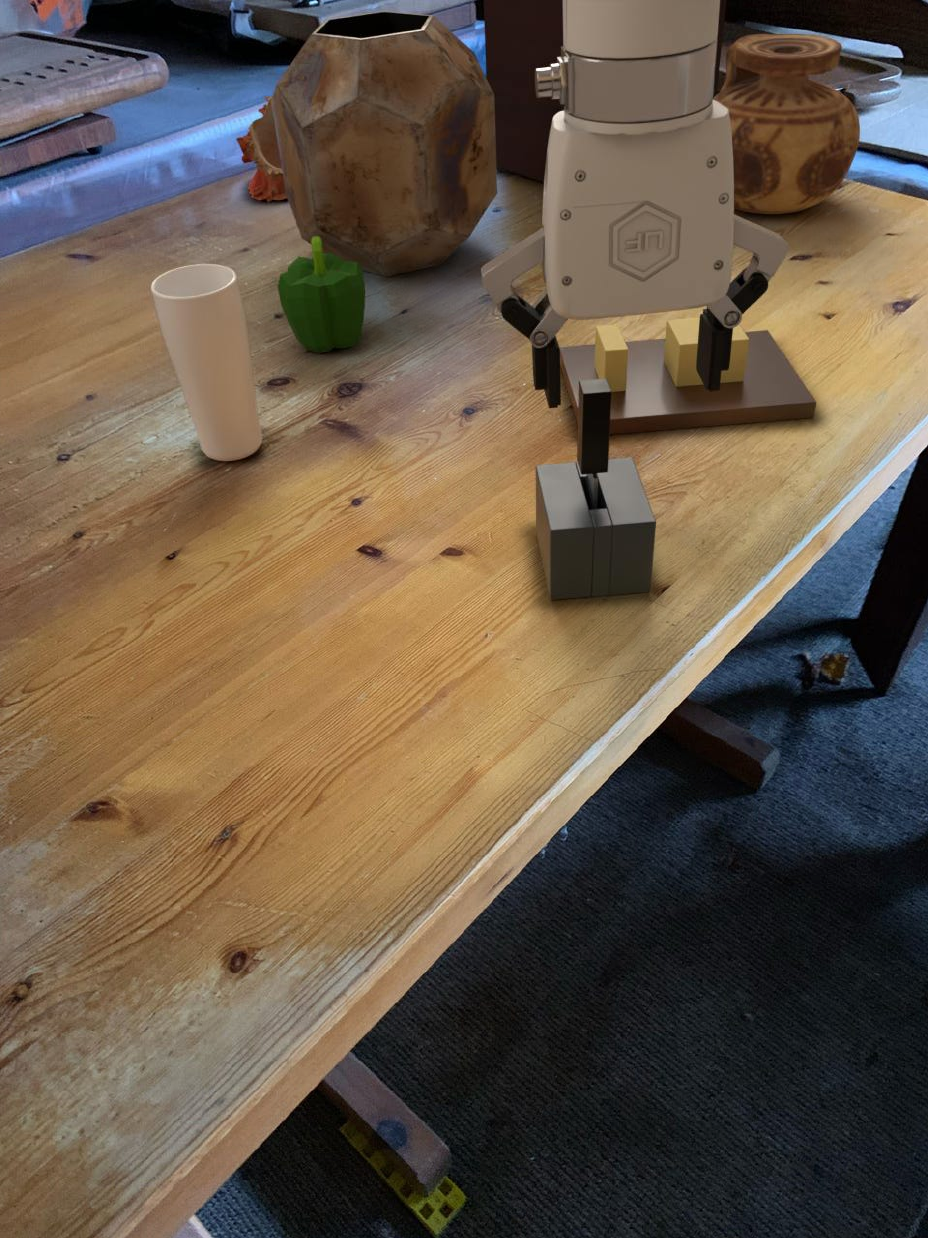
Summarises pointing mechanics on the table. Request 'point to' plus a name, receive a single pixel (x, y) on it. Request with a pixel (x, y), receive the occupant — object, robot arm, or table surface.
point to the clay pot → (786, 122)
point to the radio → (530, 78)
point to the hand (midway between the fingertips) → (629, 389)
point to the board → (693, 389)
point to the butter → (684, 353)
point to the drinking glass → (211, 356)
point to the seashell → (264, 156)
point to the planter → (386, 140)
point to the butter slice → (611, 356)
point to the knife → (593, 433)
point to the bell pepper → (323, 300)
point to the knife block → (594, 531)
